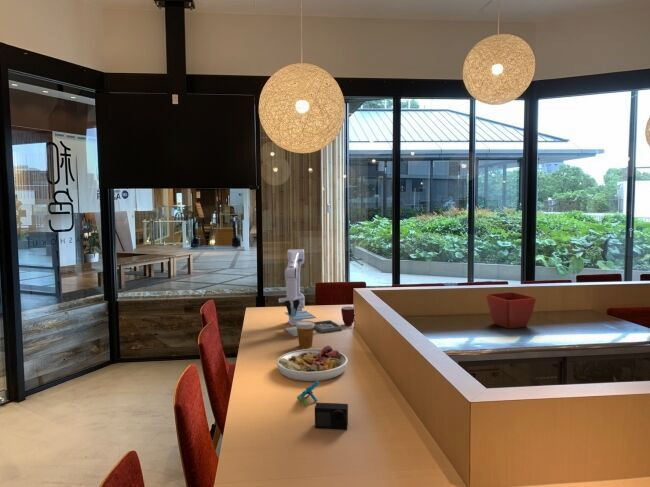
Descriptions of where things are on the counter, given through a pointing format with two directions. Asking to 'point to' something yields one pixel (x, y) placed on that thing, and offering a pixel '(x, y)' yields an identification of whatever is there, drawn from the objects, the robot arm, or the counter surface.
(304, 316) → the lid
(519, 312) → the plant pot
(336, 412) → the digital camera
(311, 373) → the bowl
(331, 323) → the grey rectangular tray
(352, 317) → the mug
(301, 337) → the disposable coffee cup
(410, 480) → the counter surface
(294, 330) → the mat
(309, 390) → the blue green plastic toy
